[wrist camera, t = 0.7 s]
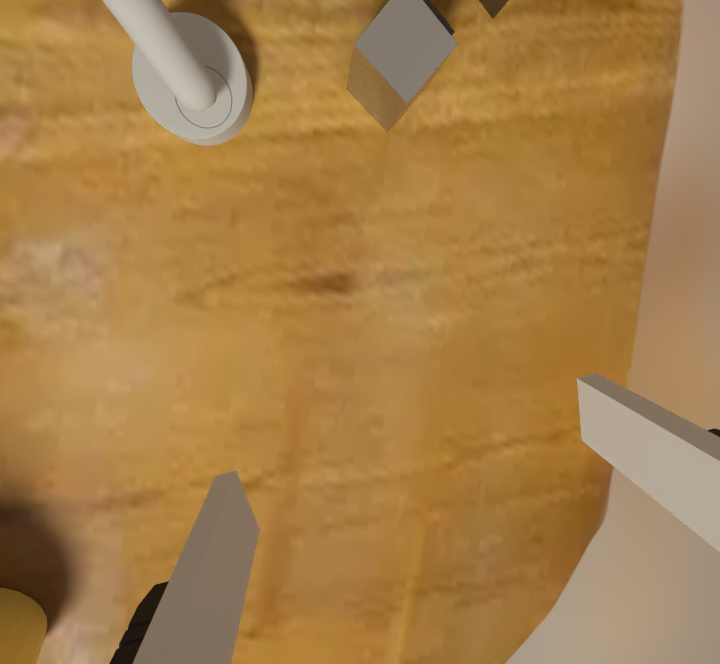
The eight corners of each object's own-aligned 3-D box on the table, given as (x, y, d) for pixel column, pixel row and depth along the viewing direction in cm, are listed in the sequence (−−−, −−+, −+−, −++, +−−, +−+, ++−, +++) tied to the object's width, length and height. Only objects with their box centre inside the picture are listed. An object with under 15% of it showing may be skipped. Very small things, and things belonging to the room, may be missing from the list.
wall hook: (139, -125, 20) (252, 59, 23) (197, -13, 29) (273, 109, 32) (16, -29, 20) (141, 139, 23) (111, 51, 30) (193, 165, 32)
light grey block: (387, 133, 33) (407, 103, 25) (346, 89, 32) (354, 44, 24) (430, 82, 32) (464, 36, 25) (390, 35, 31) (412, -29, 23)
